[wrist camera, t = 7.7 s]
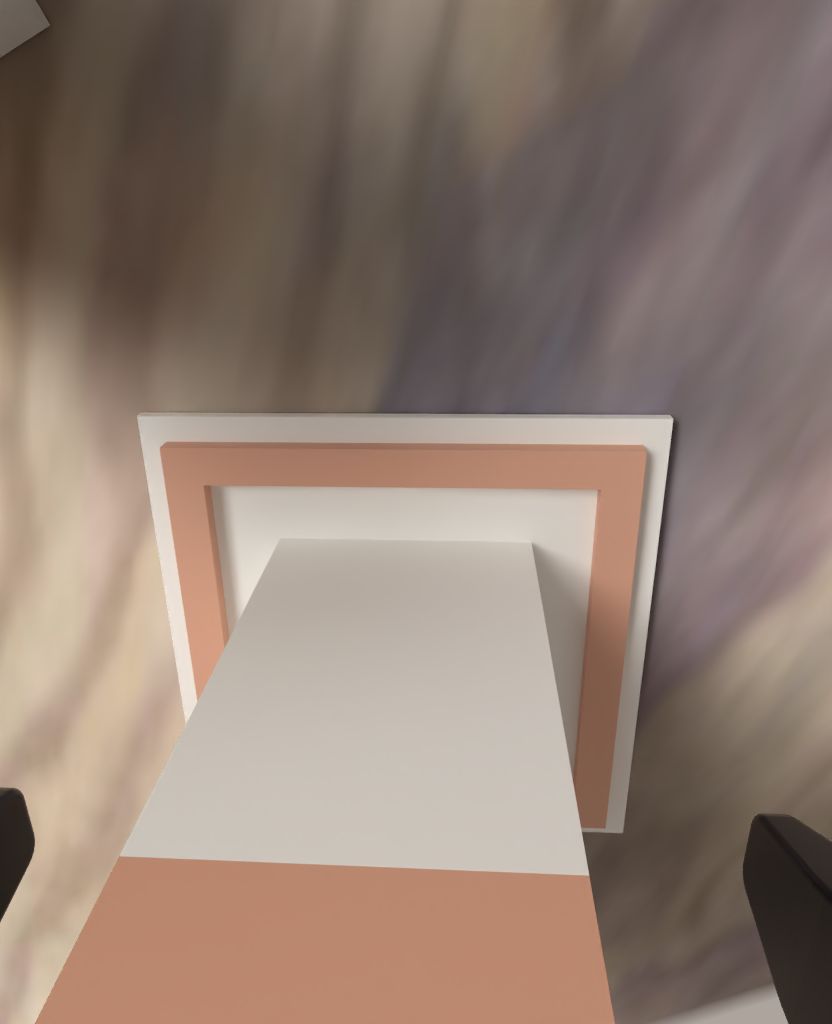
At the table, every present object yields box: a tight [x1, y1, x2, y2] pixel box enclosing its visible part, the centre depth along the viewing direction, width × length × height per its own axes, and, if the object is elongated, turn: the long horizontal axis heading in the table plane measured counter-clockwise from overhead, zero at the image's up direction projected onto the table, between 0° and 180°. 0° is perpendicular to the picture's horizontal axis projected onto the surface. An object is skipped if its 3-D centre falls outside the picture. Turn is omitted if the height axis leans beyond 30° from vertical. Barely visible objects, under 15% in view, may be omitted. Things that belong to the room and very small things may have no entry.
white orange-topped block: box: [35, 538, 615, 1024], centre depth 10 cm, size 4×4×8 cm
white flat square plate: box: [137, 412, 673, 833], centre depth 13 cm, size 8×8×1 cm
